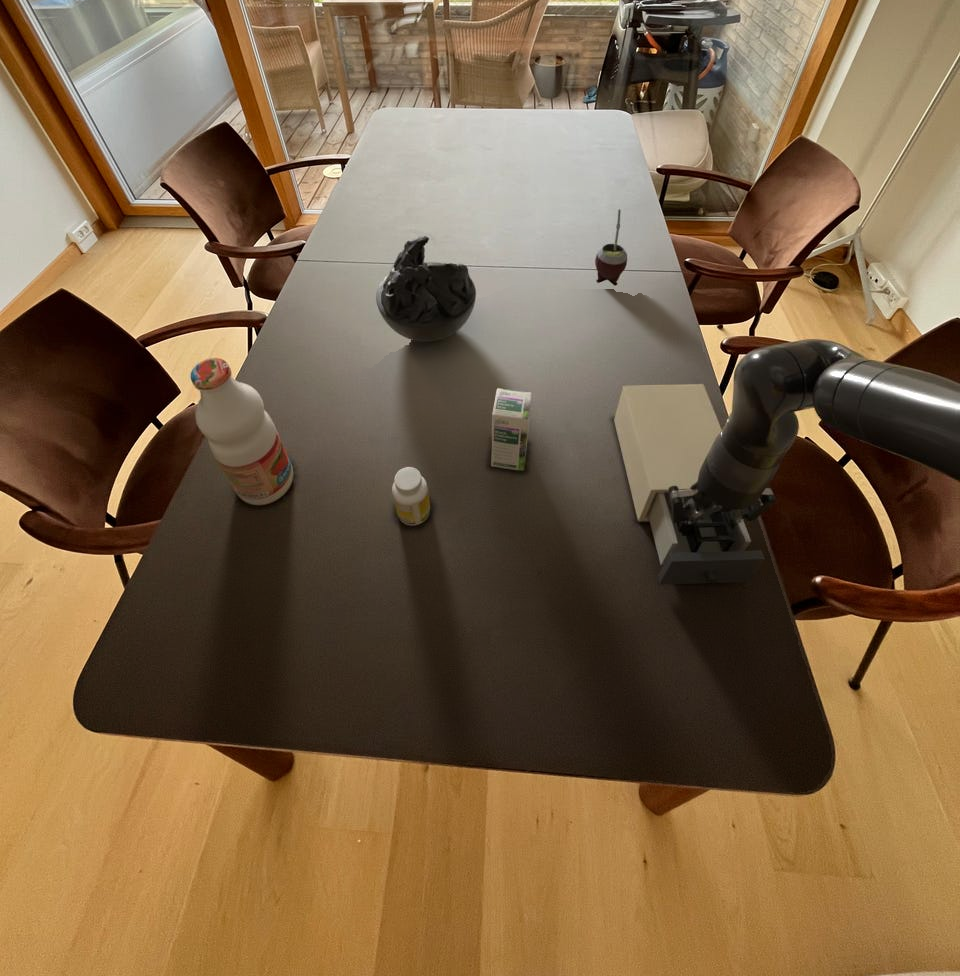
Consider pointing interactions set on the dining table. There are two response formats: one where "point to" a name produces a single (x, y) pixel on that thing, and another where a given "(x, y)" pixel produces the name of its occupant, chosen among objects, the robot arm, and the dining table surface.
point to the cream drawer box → (663, 438)
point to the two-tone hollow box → (699, 551)
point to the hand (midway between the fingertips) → (702, 528)
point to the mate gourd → (611, 260)
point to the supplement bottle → (411, 496)
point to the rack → (721, 530)
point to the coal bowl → (425, 295)
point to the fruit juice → (240, 434)
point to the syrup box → (510, 428)
